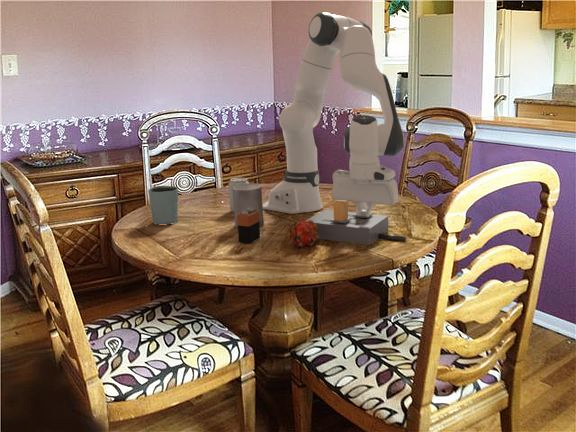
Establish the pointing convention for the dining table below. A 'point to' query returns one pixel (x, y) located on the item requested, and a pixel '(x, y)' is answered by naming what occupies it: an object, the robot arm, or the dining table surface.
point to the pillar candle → (248, 199)
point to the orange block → (341, 212)
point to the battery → (248, 226)
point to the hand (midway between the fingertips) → (364, 216)
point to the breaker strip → (353, 228)
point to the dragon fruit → (304, 233)
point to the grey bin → (164, 204)
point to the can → (233, 182)
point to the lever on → (364, 206)
